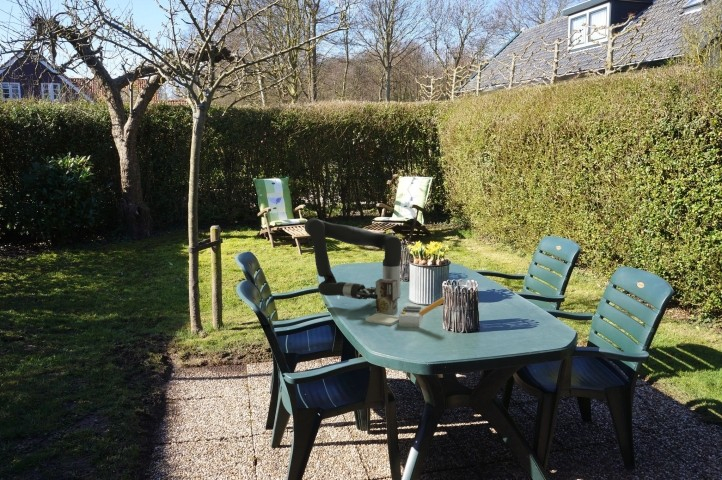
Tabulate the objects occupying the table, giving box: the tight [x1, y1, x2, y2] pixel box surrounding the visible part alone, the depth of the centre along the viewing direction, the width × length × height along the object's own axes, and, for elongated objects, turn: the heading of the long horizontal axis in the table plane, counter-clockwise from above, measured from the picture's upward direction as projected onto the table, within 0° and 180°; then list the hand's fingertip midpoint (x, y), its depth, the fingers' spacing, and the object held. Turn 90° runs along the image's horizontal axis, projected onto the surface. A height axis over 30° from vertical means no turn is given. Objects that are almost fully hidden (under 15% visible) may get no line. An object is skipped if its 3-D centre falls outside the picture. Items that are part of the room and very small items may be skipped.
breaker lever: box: [420, 296, 445, 317], centre depth 251 cm, size 3×2×16 cm
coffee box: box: [375, 278, 399, 316], centre depth 271 cm, size 9×6×16 cm
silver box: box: [398, 305, 424, 328], centre depth 257 cm, size 14×9×6 cm, turn 167°
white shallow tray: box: [365, 312, 399, 327], centre depth 261 cm, size 11×14×1 cm
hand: (381, 295), depth 273 cm, fingers open, 8 cm apart
